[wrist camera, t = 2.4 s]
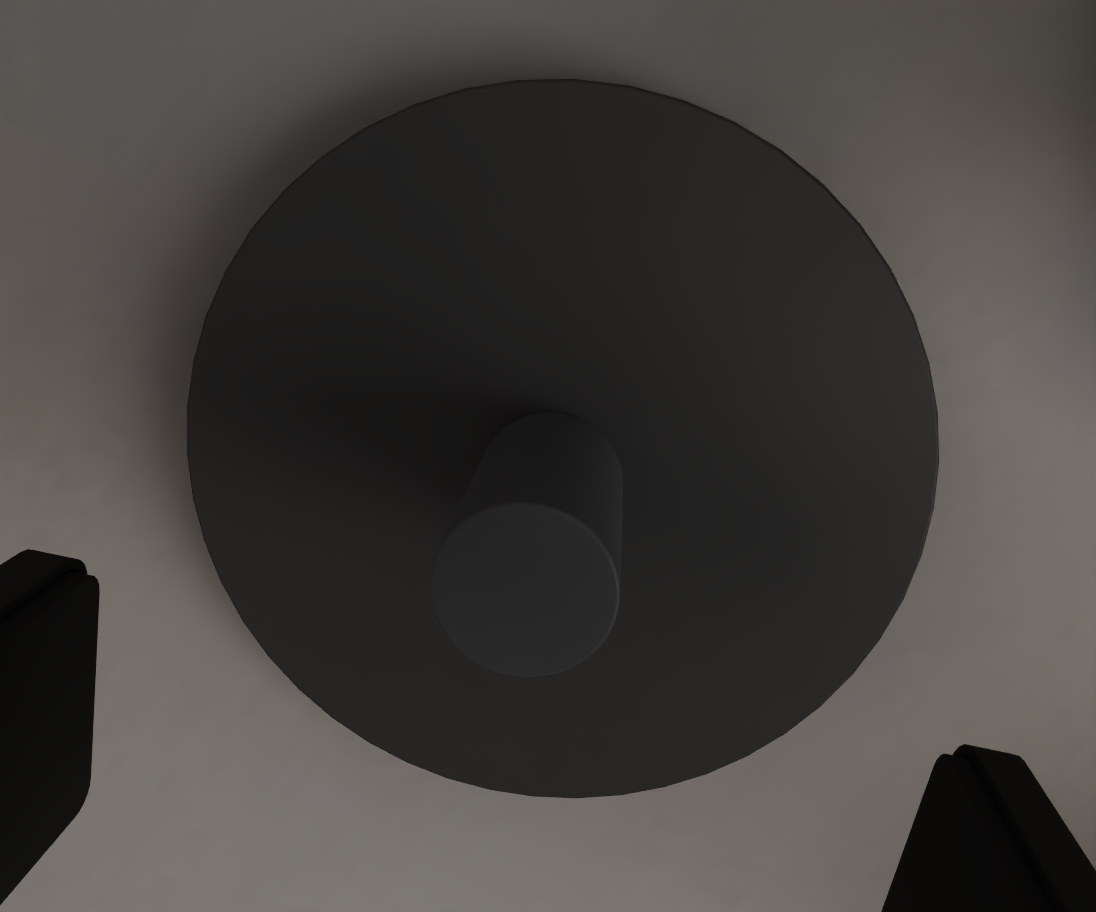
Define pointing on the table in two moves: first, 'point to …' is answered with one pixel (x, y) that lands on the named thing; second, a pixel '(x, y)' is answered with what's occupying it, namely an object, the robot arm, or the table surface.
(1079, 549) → the table surface
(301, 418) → the lid
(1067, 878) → the robot arm
